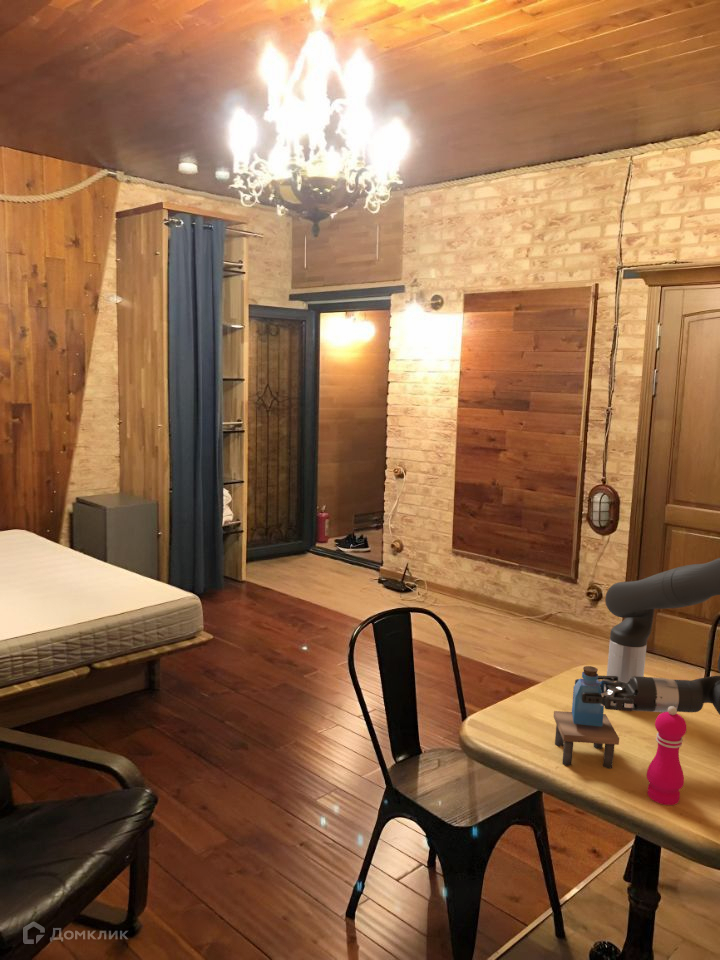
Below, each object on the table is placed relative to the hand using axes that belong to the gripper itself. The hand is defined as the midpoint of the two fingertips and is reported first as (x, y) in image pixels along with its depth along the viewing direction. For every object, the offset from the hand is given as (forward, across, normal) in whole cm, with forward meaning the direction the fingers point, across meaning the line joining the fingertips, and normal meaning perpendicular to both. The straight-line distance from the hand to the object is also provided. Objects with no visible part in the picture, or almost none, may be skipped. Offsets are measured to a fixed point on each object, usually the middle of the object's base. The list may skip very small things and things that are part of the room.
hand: (578, 690), depth 177 cm
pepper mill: (-15, +16, +16) cm, 27 cm away
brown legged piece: (-2, 0, +16) cm, 16 cm away
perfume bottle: (-2, 0, +7) cm, 7 cm away
